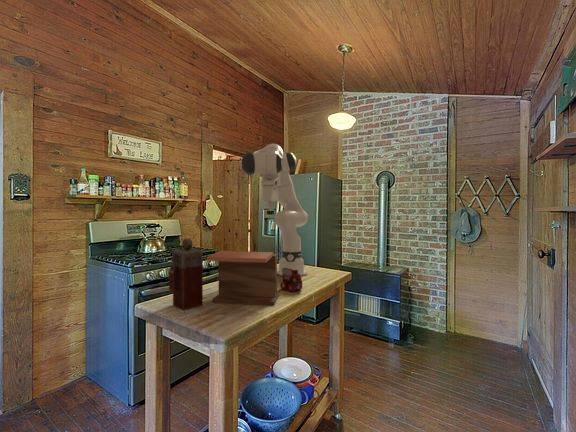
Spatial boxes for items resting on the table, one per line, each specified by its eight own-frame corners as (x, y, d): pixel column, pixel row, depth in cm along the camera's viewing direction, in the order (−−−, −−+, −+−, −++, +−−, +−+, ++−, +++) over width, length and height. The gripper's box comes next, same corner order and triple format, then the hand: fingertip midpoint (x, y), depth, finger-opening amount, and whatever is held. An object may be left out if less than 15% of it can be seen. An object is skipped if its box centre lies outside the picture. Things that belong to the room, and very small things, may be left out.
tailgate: (220, 250, 137) (207, 256, 122) (273, 252, 134) (266, 258, 119) (220, 256, 137) (207, 262, 122) (273, 257, 134) (266, 264, 119)
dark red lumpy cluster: (296, 294, 145) (296, 272, 145) (277, 288, 154) (277, 268, 153) (305, 290, 151) (305, 269, 150) (287, 286, 159) (287, 266, 159)
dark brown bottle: (167, 306, 127) (166, 239, 126) (192, 300, 135) (191, 237, 134) (177, 311, 121) (176, 241, 120) (203, 305, 129) (202, 238, 128)
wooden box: (223, 292, 147) (223, 251, 146) (279, 295, 143) (279, 252, 142) (212, 302, 133) (212, 256, 132) (274, 305, 129) (274, 258, 128)
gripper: (269, 183, 160) (268, 210, 160) (260, 181, 140) (260, 211, 140) (281, 183, 159) (280, 210, 160) (274, 181, 139) (273, 211, 139)
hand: (271, 210), depth 150 cm, fingers closed
